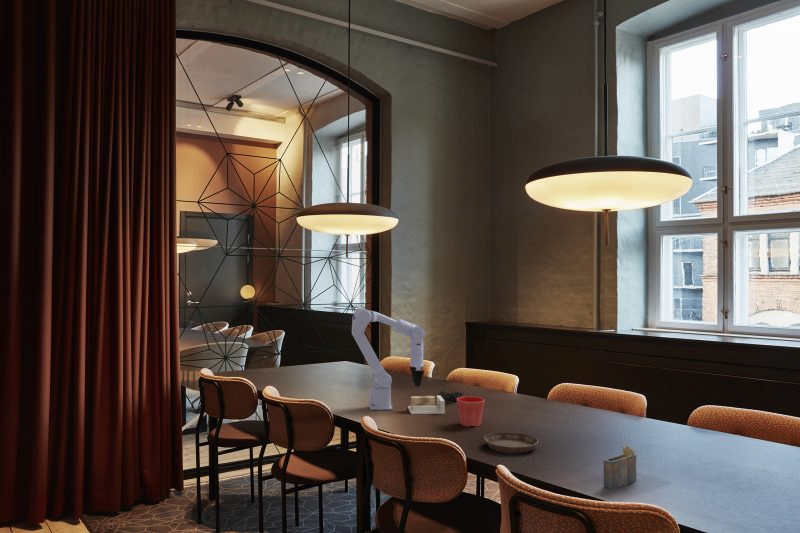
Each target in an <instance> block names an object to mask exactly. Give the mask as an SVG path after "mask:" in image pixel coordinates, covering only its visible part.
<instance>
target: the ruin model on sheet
mask: <svg viewBox="0 0 800 533" xmlns="http://www.w3.org/2000/svg"><path fill="white" fill-rule="evenodd" d="M621 448H622V454H620V455H616V456H612V457H608V460H606V459H603V487H604V488H606V487H607V489H609V488H610V489H609V490H614V488H615V489H618V488H620V486H621V487H624V486H626V485H629V484H631V482H632V483H634V481H635V482H637V454H636V453H635V450H633V449H632V448H630V447H629V446H627V445H625V446H623V445H622V446H621ZM628 483H629V484H628ZM623 485H624V486H623ZM617 487H618V488H617Z"/></svg>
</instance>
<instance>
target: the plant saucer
mask: <svg viewBox="0 0 800 533" xmlns="http://www.w3.org/2000/svg"><path fill="white" fill-rule="evenodd" d="M483 439H484V442H485V443H486V444H487V446H488V447H489V448H490V449H492V450H493V451H495V450H496V452H500V453H504V452H505V453H507V454H523V453H524V452H525V453H528V451H529V452H531V451H532V450H533V449H534V448H535V447H536V446H537V445H538V443H539V440H538V439H537V438H536V437H534V436H532V435H529V434H524V433H520V432H509V431H507V432H506V431H503V432H502V431H501V432H500V431H499V432H492V433H488V434H486V435H484V436H483Z"/></svg>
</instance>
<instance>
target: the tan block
mask: <svg viewBox="0 0 800 533" xmlns="http://www.w3.org/2000/svg"><path fill="white" fill-rule="evenodd" d="M435 398H436V396H435V395H420V396H419V395H416V396H414V395H413V396H412V395H411V396H410V406H411V410H413V406H433V405H436V404H437V403H435Z"/></svg>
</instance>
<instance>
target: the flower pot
mask: <svg viewBox="0 0 800 533" xmlns="http://www.w3.org/2000/svg"><path fill="white" fill-rule="evenodd" d="M456 404H457V412H458V418H459V423H460V425H461V426H462V427H463V426H464V427H470V426H475V427H479V426H481V424H482V418H483V413H484V407H485V399H484V398H483V397H478V396H460V397H459V398H457V401H456Z"/></svg>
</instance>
